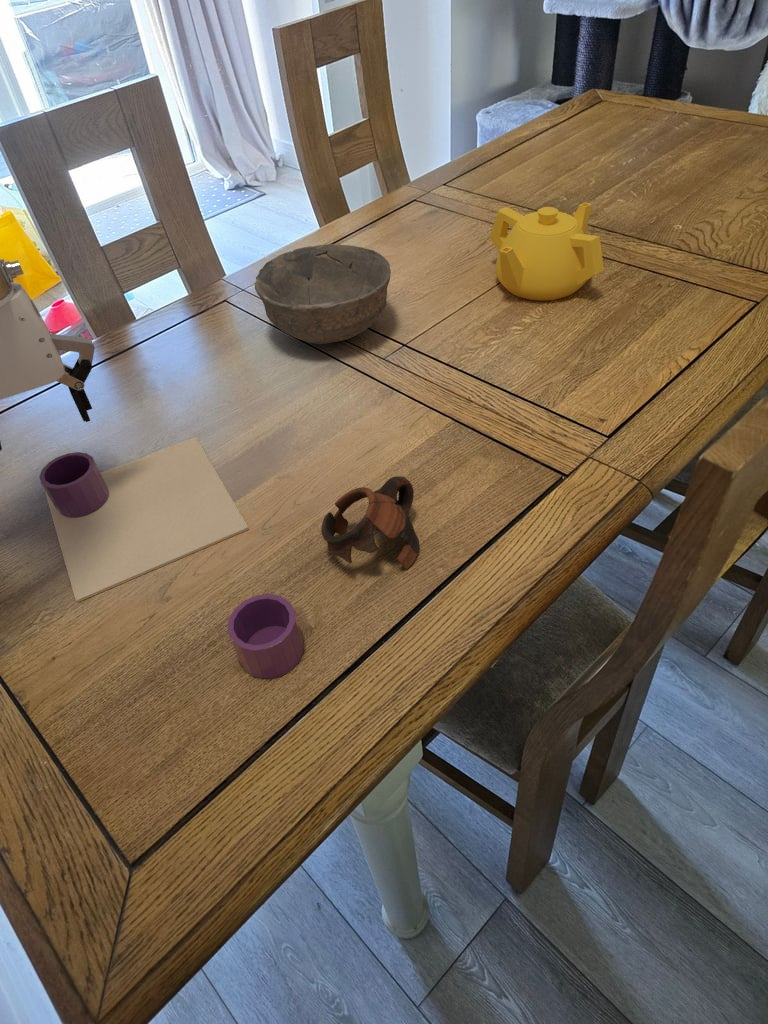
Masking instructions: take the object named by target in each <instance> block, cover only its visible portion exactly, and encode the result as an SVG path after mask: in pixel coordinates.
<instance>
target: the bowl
mask: <svg viewBox="0 0 768 1024" xmlns="http://www.w3.org/2000/svg"><path fill="white" fill-rule="evenodd" d="M391 273H392V270H391V264H390V262H389V261H388V259H386V258H385V257H384V256H383V255H382V254H381V253H380V252H378V251H376V250H373V249H370V248H365V247H363V246H356V245H348V244H347V245H345V244H334V243H329V244H319V245H312V246H311V245H309V246H304V247H300V248H295V249H294V250H292V251H287V252H283V253H282V254H279V255H277V256H276V257H274V258H273V259H271V260H269V261H267V262H266V263H265V264H264V265H263V266H262V268H260V269H259V271H258V274H257V275H256V276H255V279H256V280H255V282H254V289H255V293H256V294H257V296H258V297H259V298H260V300H261V301H262V304H263V306H264V311H265V314H266V315H265V316H266V317H267V319H268V320H269V321H270V322H271V324H272V325H274V326H275V327H276V328H278V329H279V330H280V331H281V332H282V333H284V334H287V335H288V336H290V337H293V338H295V339H297V340H300V341H303V342H306V343H309V344H316V345H324V344H325V345H326V344H331V343H337V342H342V341H347V340H349V339H352V338H353V337H357V336H359V335H361V334H363V333H364V332H365V331H366V330H368V329H369V328H370V327H371V326H372V325H373V324H374V323H375V322H376V321H377V320H378V319H379V318H380V316H381V315H382V314H383V312H384V310H385V309H386V306H387V300H388V299H387V297H388V287H389V283H390V281H391Z"/></svg>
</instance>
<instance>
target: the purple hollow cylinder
mask: <svg viewBox="0 0 768 1024" xmlns="http://www.w3.org/2000/svg"><path fill="white" fill-rule="evenodd" d="M226 631H227V634H228V636H229V639H230V641H231V644H232V647H233V648H234V651H235V652H236V653H235V654H236V656H237V658H238V661H239V662H240V665H241V667H242V669H243V670H244V671H245V673H247V674H249V675H250V676H251V677H253V678H257V679H263V680H269V679H270V680H272V679H276V678H280V677H282V676H284V675H287V674H288V673H290V672H291V671H292V670H293V669H294V668H296V666H297V665H298V664H299V663H300V661H301V659H302V657H303V654H304V649H305V645H304V644H305V643H304V637H303V634H302V631H301V627H300V624H299V620H298V616H297V613H296V609H295V608H294V606H293V605H292V603H291V602H290V601H289V600H287V599H286V598H285V597H283V596H281V595H278V594H272V593H264V594H255V595H254V596H251V597H249V598H247V599H244V600H243V601H242V602H240V604H238V605H237V606H236V607H235V608H234V609H233V610H232V612H231V614H230V615H229V618H228V620H227V629H226Z"/></svg>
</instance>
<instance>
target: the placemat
mask: <svg viewBox="0 0 768 1024" xmlns="http://www.w3.org/2000/svg"><path fill="white" fill-rule="evenodd" d="M100 472H101V474H102V477H103V479H104V481H105V483H106V485H107V487H108V489H109V497H108V499H107V501H106V503H105V504H104V505H103V506H102V507H101V508H100V509H98V510H97V511H95V512H93V513H91V514H89V515H86V516H83V517H78V518H69V517H65V516H63V515H61V514H60V513H59V512H58V510H57V509H56V508H55V506H54V504H53V503H52V501H51V499H50V498H49V496H48V494H47V492H45V496H46V500H47V504H48V508H49V511H50V515H51V518H52V521H53V525H54V530H55V533H56V536H57V540H58V543H59V547H60V550H61V554H62V558H63V561H64V564H65V568H66V572H67V575H68V579H69V582H70V586H71V589H72V593H73V596H74V600H75V603H76V604H77V603H80V602H82V601H84V600H86V599H87V600H88V599H89V598H91V597H94V596H96V595H99V594H101V593H103V592H106V591H108V590H111V589H113V588H114V587H117V586H119V585H122V584H124V583H126V582H129V581H132V580H133V579H136V578H138V577H141V576H143V575H146V574H148V573H150V572H153V571H155V570H157V569H159V568H161V567H162V568H163V567H164V566H167V565H169V564H172V563H173V562H176V561H178V560H181V559H183V558H185V557H188V556H190V555H192V554H195V553H197V552H200V551H202V550H204V549H206V548H209V547H211V546H214V545H215V544H219V543H221V542H223V541H226V540H228V539H230V538H232V537H235V536H237V535H239V534H241V533H244V532H246V531H248V530H249V526H248V525H247V523H246V521H245V519H244V518H243V516H242V514H241V512H240V510H239V509H238V507H237V505H236V504H235V502H234V500H233V499H232V497H231V494H230V492H229V491H228V489H227V488H226V486H225V484H224V483H223V481H222V478H221V477H220V476H219V473H218V472H217V471H216V469H215V466H213V463H212V462H211V460H210V458H209V456H208V455H207V453H206V451H205V449H204V448H203V446H202V445H201V443H200V441H199V439H198V437H197V436H194V437H192V438H189V439H186V440H183V441H181V442H178V443H175V444H173V445H170V446H167V447H165V448H163V449H160V450H157V451H154V452H152V453H150V454H147V455H144V456H141V457H138V458H136V459H133V460H130V461H128V462H125V463H122V464H120V465H117V466H115V467H112V468H109V469H106V470H103V471H100Z"/></svg>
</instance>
